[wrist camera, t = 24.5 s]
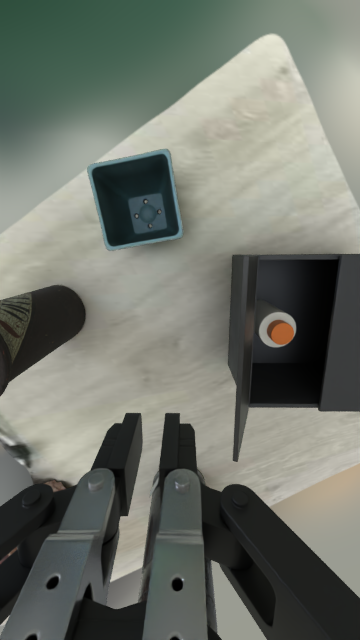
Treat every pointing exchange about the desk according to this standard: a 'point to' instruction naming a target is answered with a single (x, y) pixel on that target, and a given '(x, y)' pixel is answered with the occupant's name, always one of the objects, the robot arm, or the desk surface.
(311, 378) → the carton
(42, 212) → the desk surface
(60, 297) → the container
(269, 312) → the orange-capped white cylinder
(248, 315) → the flap
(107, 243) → the flower pot
